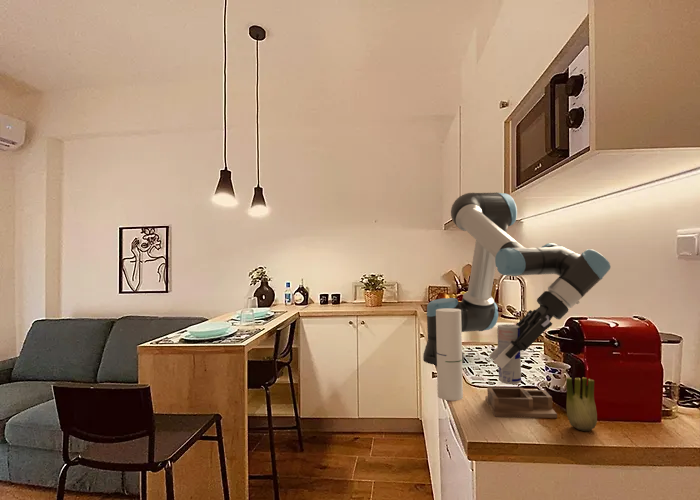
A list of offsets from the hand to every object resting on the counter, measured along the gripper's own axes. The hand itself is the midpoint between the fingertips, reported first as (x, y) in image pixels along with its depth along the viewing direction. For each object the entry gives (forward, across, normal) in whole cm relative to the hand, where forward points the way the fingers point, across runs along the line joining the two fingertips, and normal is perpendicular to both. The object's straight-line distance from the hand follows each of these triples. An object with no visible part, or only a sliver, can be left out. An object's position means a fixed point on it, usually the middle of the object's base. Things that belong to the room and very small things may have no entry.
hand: (495, 362), depth 120 cm
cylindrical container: (+17, +9, -1) cm, 19 cm away
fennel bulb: (-3, -13, -21) cm, 25 cm away
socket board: (+4, 0, -13) cm, 14 cm away
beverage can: (+1, 0, -6) cm, 7 cm away
